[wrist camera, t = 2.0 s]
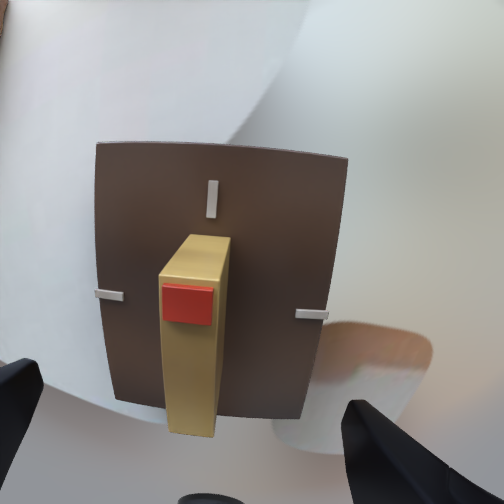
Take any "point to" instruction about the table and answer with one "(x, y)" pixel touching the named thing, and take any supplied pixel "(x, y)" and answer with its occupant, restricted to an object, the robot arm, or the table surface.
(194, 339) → the golden tan block
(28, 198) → the table surface
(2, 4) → the plant
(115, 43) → the table surface
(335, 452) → the table surface
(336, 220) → the panel
